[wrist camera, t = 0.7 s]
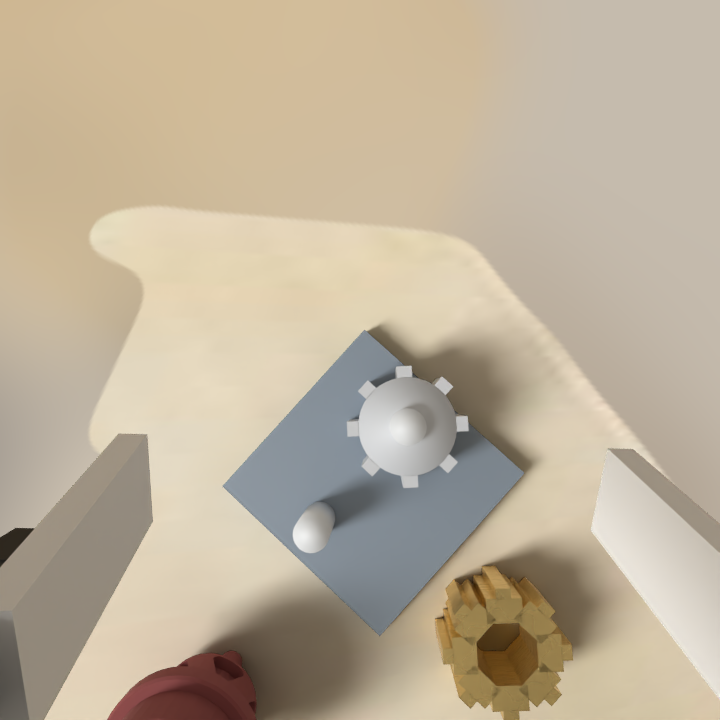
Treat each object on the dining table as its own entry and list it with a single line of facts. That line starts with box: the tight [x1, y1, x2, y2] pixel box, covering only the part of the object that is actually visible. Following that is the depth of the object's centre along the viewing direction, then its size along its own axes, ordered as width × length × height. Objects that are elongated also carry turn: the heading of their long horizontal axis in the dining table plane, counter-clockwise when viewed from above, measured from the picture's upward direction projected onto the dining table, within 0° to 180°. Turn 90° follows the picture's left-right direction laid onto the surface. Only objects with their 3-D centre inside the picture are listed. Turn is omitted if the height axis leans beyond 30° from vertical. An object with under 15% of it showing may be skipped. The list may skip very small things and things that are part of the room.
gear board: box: [223, 330, 524, 636], centre depth 39 cm, size 16×17×7 cm
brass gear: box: [435, 566, 573, 720], centre depth 39 cm, size 8×8×5 cm
